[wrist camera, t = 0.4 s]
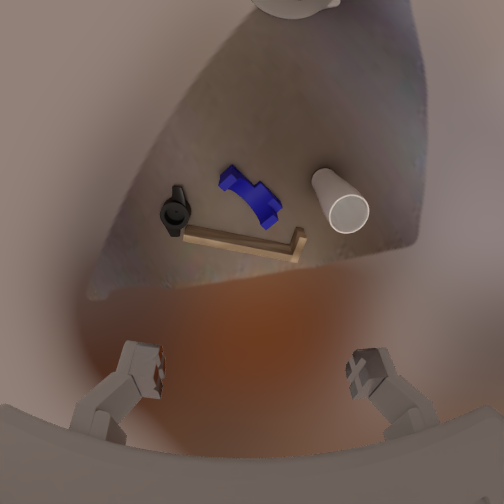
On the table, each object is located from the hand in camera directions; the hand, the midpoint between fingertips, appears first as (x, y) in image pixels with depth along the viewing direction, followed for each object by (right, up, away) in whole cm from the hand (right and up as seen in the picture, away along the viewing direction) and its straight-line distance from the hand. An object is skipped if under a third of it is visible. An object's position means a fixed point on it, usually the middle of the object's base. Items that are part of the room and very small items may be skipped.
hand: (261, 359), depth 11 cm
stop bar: (-2, +9, +47) cm, 48 cm away
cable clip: (-1, +17, +42) cm, 45 cm away
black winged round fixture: (-15, +13, +44) cm, 49 cm away
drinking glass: (+14, +18, +42) cm, 47 cm away
